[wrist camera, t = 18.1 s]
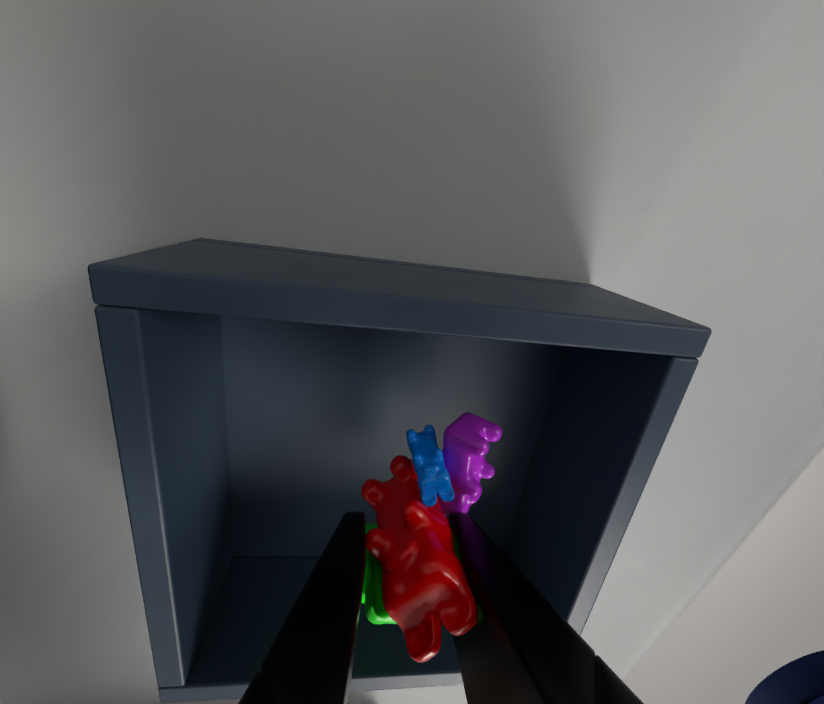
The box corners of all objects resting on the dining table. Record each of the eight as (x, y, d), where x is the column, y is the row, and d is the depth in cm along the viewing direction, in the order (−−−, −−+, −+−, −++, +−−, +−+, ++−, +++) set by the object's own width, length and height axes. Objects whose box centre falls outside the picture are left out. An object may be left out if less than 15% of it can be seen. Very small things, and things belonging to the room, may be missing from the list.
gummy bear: (459, 378, 8) (533, 493, 5) (524, 447, 9) (618, 578, 6) (298, 514, 9) (275, 691, 6) (375, 564, 10) (392, 737, 7)
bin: (510, 555, 14) (562, 680, 10) (218, 556, 13) (159, 704, 9) (592, 284, 11) (714, 329, 7) (198, 237, 9) (83, 263, 5)
